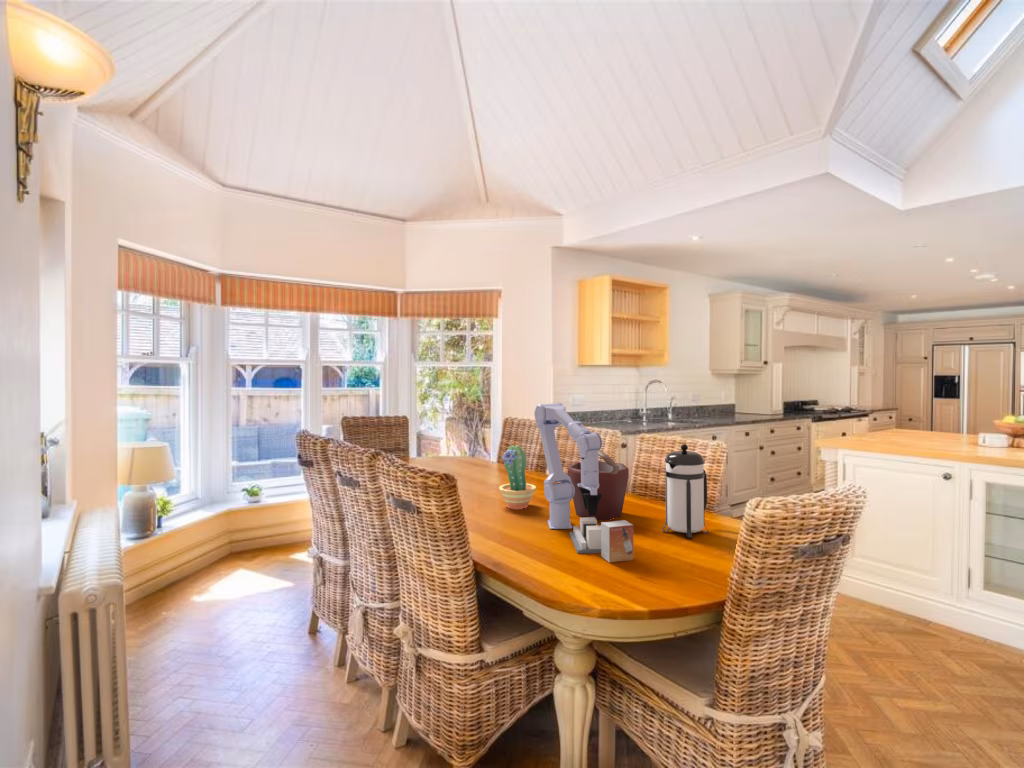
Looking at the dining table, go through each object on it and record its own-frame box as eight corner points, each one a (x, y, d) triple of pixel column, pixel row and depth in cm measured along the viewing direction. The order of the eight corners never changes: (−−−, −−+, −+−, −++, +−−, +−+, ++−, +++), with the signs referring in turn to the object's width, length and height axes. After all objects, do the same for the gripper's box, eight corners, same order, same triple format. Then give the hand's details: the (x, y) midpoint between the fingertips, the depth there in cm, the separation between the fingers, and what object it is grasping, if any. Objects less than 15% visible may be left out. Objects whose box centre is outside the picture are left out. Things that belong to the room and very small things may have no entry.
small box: (609, 563, 152) (608, 527, 151) (600, 556, 157) (600, 521, 157) (634, 560, 154) (633, 524, 153) (625, 553, 159) (624, 519, 159)
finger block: (580, 535, 174) (579, 517, 174) (595, 535, 174) (594, 517, 174) (582, 539, 169) (582, 521, 169) (597, 539, 170) (597, 521, 169)
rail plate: (569, 534, 178) (569, 514, 178) (604, 533, 178) (604, 513, 178) (577, 553, 160) (577, 530, 160) (616, 552, 160) (616, 529, 160)
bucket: (634, 523, 189) (633, 454, 188) (572, 525, 189) (571, 455, 188) (619, 505, 214) (618, 444, 213) (564, 507, 213) (563, 445, 212)
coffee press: (715, 540, 169) (715, 448, 168) (664, 538, 172) (663, 447, 171) (706, 524, 186) (706, 440, 185) (660, 523, 189) (659, 440, 188)
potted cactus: (493, 504, 219) (491, 444, 218) (526, 499, 226) (525, 441, 225) (508, 513, 205) (507, 449, 204) (543, 508, 212) (542, 446, 211)
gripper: (574, 466, 178) (574, 506, 179) (581, 475, 164) (581, 518, 164) (594, 466, 178) (595, 505, 179) (603, 474, 164) (604, 517, 164)
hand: (590, 511), depth 171 cm, fingers open, 7 cm apart
